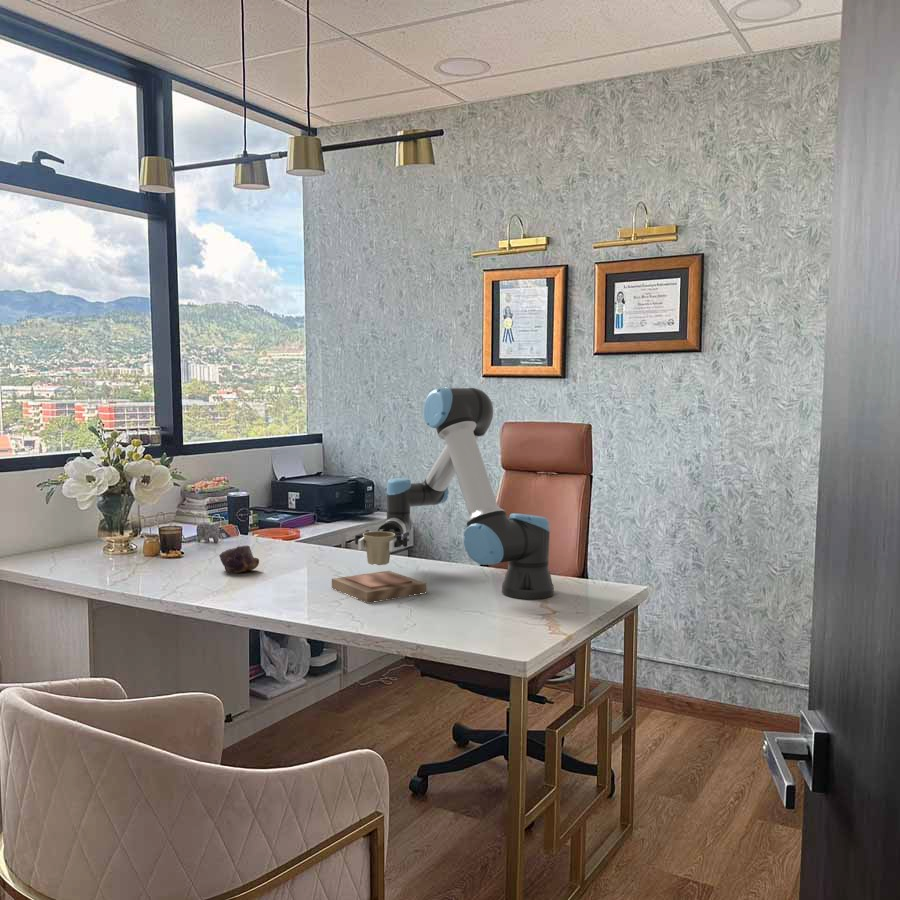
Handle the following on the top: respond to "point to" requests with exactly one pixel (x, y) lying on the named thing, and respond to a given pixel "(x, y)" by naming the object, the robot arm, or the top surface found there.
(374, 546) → the flower pot
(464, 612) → the top surface
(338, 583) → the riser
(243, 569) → the rock
